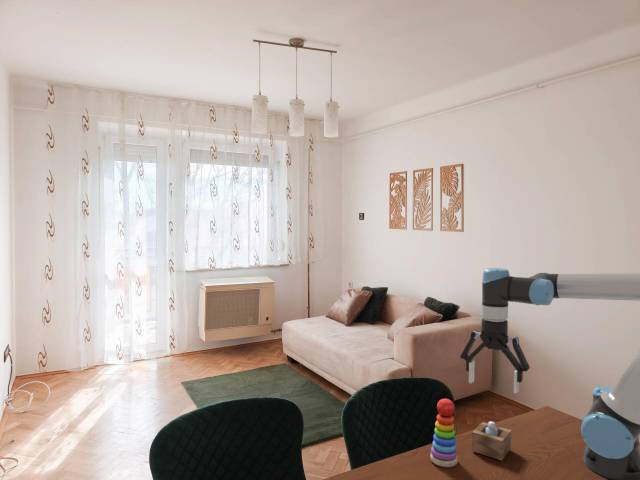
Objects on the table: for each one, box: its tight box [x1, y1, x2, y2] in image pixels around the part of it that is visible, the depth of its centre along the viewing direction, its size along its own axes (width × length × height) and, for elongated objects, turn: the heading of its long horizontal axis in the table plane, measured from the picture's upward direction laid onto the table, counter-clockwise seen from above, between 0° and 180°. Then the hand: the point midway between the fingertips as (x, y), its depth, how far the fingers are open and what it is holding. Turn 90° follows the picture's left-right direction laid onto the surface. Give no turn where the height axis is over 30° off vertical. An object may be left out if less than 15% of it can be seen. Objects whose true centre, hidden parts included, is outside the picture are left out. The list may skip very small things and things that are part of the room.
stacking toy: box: [429, 398, 459, 468], centre depth 137 cm, size 8×8×19 cm
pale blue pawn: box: [486, 421, 498, 437], centre depth 144 cm, size 7×7×9 cm
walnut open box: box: [471, 421, 512, 462], centre depth 144 cm, size 9×9×6 cm
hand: (493, 387), depth 143 cm, fingers open, 13 cm apart
